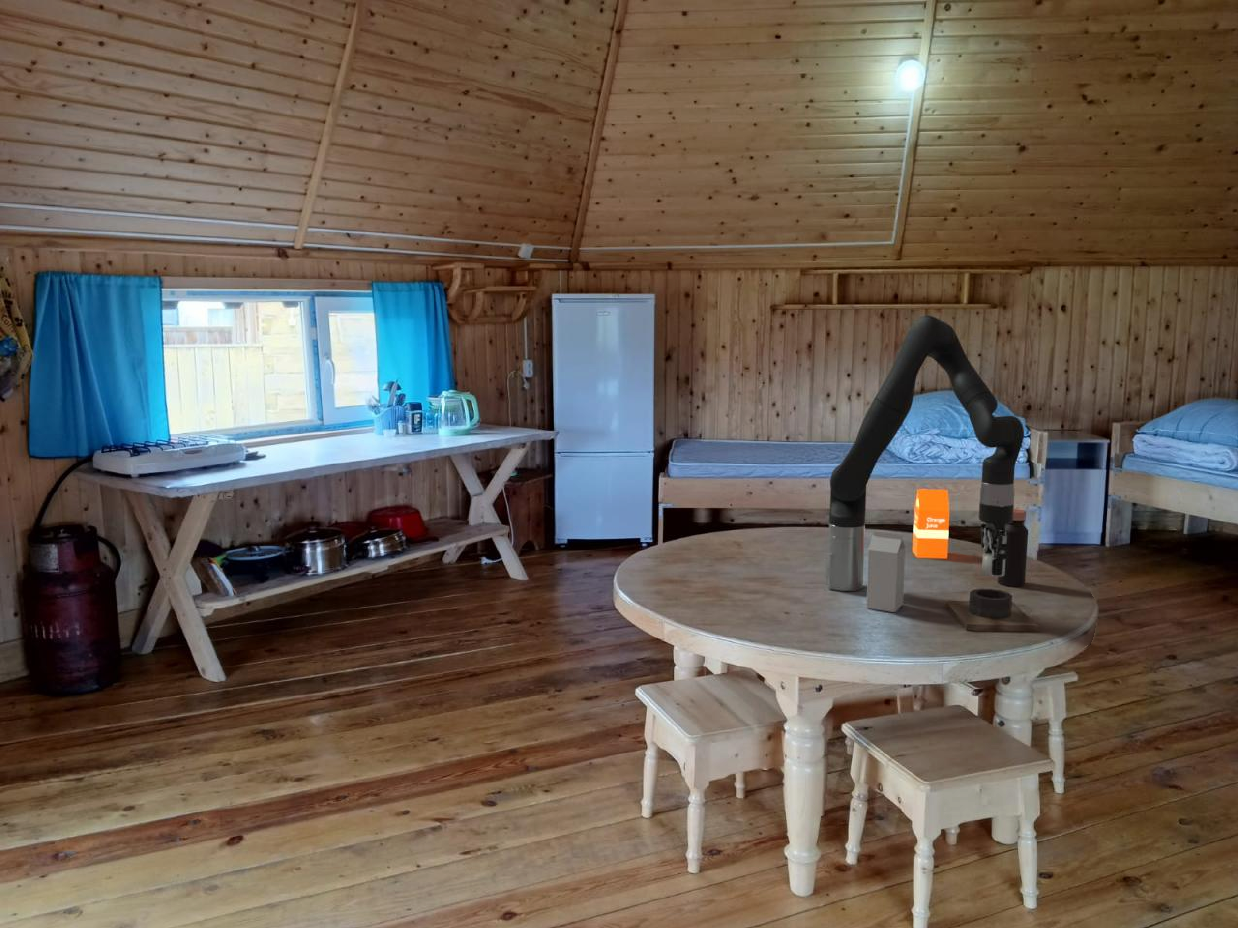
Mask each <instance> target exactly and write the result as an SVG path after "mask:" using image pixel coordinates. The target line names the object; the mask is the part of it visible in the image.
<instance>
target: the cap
mask: <svg viewBox="0 0 1238 928" xmlns="http://www.w3.org/2000/svg"><path fill="white" fill-rule="evenodd" d="M992 559H993V558H992V553H983V554H982V561H981V562H982V565H981V574H982V575H983V576H986V577H991V578H992V577H993V578H998V577H1002V576H1004V574H1005V559H1004V560H1003V568H1002V575H993V574H992Z"/></svg>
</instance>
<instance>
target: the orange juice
mask: <svg viewBox="0 0 1238 928" xmlns="http://www.w3.org/2000/svg"><path fill="white" fill-rule="evenodd" d="M948 493H949V491H948V489H922V488H921V489H920V488H918V489H917V491H916V498H915V503H914V513H913V514H914V515H913V531H912V532H913V537H912V552H913V554H914V555H915V557H916V558H918V559H919V558H921V559H922V558H924V559H925V558H926V559H948V544H949V527H950V526H949V524H950V521H949V520H950V506H949V505H950V504H949V494H948Z"/></svg>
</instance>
